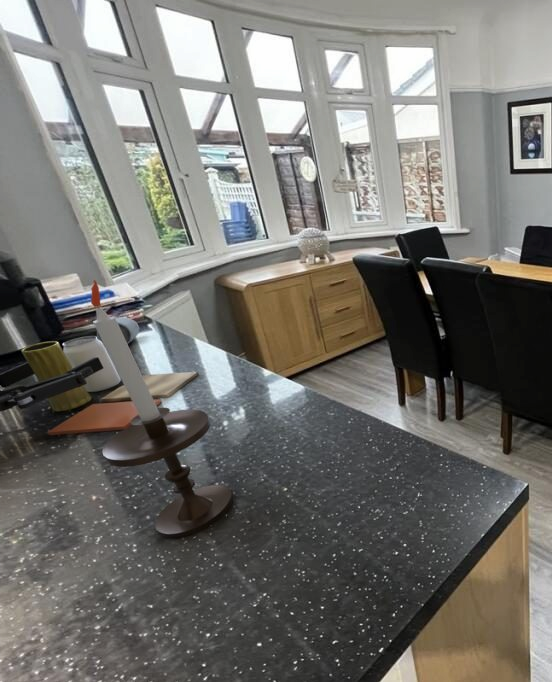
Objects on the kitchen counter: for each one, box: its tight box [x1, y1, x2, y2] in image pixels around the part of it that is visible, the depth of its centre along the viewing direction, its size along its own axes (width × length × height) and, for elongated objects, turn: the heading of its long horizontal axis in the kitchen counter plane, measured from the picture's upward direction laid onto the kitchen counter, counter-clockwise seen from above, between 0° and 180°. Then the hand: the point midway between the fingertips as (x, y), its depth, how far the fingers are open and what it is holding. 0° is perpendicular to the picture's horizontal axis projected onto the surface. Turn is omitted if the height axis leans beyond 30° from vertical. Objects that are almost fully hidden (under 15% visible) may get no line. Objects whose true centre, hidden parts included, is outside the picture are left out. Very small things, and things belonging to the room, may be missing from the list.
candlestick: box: [90, 279, 234, 540], centre depth 51 cm, size 11×11×35 cm
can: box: [62, 335, 122, 393], centre depth 92 cm, size 6×6×12 cm
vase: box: [21, 340, 93, 412], centre depth 84 cm, size 6×6×14 cm
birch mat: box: [100, 371, 199, 403], centre depth 93 cm, size 14×11×1 cm
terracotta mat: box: [47, 398, 162, 436], centre depth 82 cm, size 14×10×1 cm
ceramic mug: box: [96, 317, 140, 345], centre depth 117 cm, size 11×8×8 cm
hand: (66, 364), depth 86 cm, fingers open, 13 cm apart
